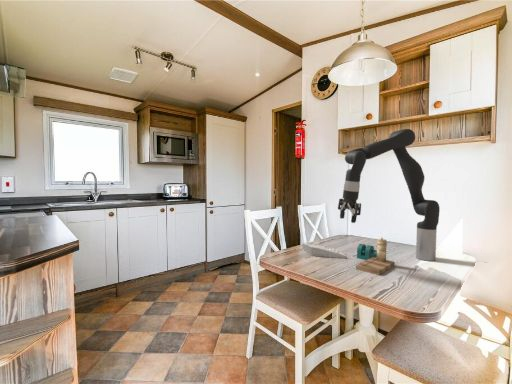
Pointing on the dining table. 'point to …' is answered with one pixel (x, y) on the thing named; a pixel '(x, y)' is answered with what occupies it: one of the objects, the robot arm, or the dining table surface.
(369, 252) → the bracket
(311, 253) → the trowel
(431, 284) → the dining table surface
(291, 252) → the dining table surface
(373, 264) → the board
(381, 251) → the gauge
